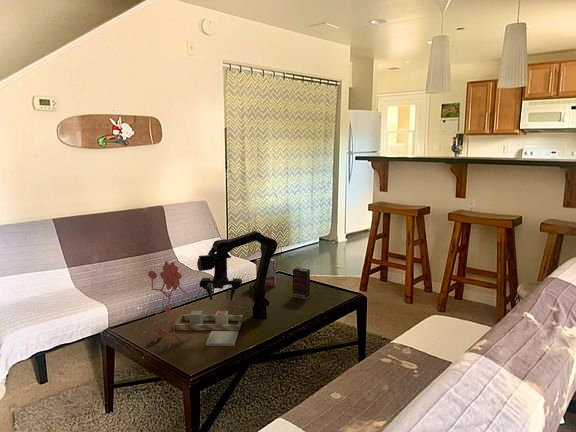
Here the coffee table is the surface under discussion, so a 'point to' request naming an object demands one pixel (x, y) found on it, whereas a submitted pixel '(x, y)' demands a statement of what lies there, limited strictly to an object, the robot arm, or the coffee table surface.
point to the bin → (209, 326)
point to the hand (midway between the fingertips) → (221, 300)
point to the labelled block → (221, 317)
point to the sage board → (222, 338)
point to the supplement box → (301, 283)
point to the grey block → (196, 317)
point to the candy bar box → (269, 273)
